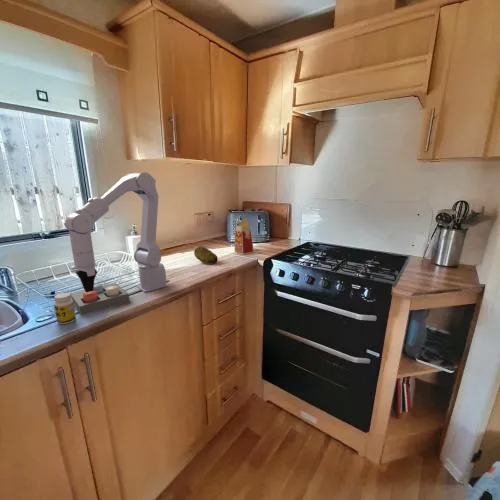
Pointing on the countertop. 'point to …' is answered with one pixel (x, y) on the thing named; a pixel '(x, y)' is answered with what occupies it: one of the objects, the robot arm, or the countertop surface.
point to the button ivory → (112, 291)
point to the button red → (90, 296)
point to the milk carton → (243, 238)
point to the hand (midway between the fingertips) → (89, 291)
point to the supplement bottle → (64, 308)
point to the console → (99, 300)
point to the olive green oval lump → (205, 255)
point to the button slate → (98, 288)
